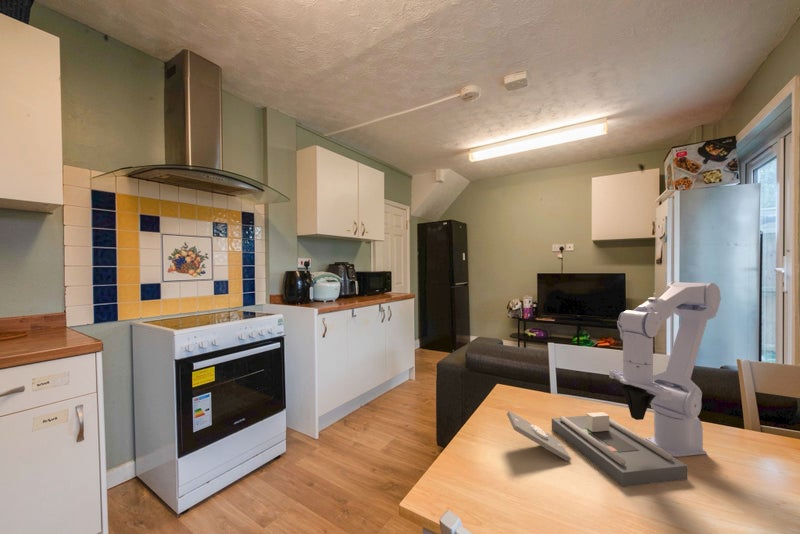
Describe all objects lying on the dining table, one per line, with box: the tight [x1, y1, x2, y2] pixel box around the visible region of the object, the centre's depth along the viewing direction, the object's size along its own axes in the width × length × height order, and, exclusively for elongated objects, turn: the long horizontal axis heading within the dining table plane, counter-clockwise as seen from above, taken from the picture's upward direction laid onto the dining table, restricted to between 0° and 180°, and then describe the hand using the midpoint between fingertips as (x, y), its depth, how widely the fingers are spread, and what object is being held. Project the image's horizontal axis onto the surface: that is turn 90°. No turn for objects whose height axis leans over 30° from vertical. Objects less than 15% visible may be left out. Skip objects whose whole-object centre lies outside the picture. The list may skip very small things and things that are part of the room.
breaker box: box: [551, 415, 689, 488], centre depth 79 cm, size 16×24×3 cm, turn 8°
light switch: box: [506, 410, 572, 463], centre depth 79 cm, size 8×6×14 cm
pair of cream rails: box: [559, 415, 674, 466], centre depth 79 cm, size 13×21×1 cm, turn 8°
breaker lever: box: [586, 411, 610, 432], centre depth 83 cm, size 5×2×4 cm, turn 98°
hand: (637, 418), depth 74 cm, fingers closed
